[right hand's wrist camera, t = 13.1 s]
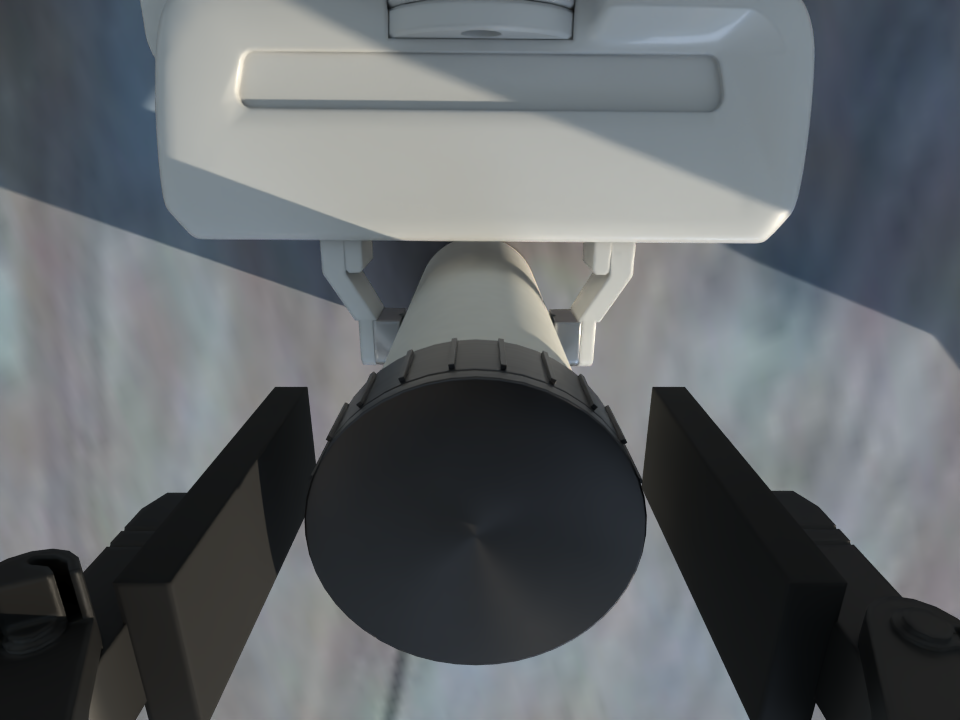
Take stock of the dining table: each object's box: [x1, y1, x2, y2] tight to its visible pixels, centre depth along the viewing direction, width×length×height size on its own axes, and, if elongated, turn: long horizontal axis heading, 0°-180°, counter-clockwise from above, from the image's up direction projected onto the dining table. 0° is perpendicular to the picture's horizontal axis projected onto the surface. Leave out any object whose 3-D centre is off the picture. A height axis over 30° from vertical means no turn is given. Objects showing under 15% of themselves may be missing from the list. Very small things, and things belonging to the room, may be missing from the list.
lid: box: [305, 338, 647, 665], centre depth 12 cm, size 6×6×2 cm
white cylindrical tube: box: [382, 241, 572, 370], centre depth 20 cm, size 6×6×18 cm
